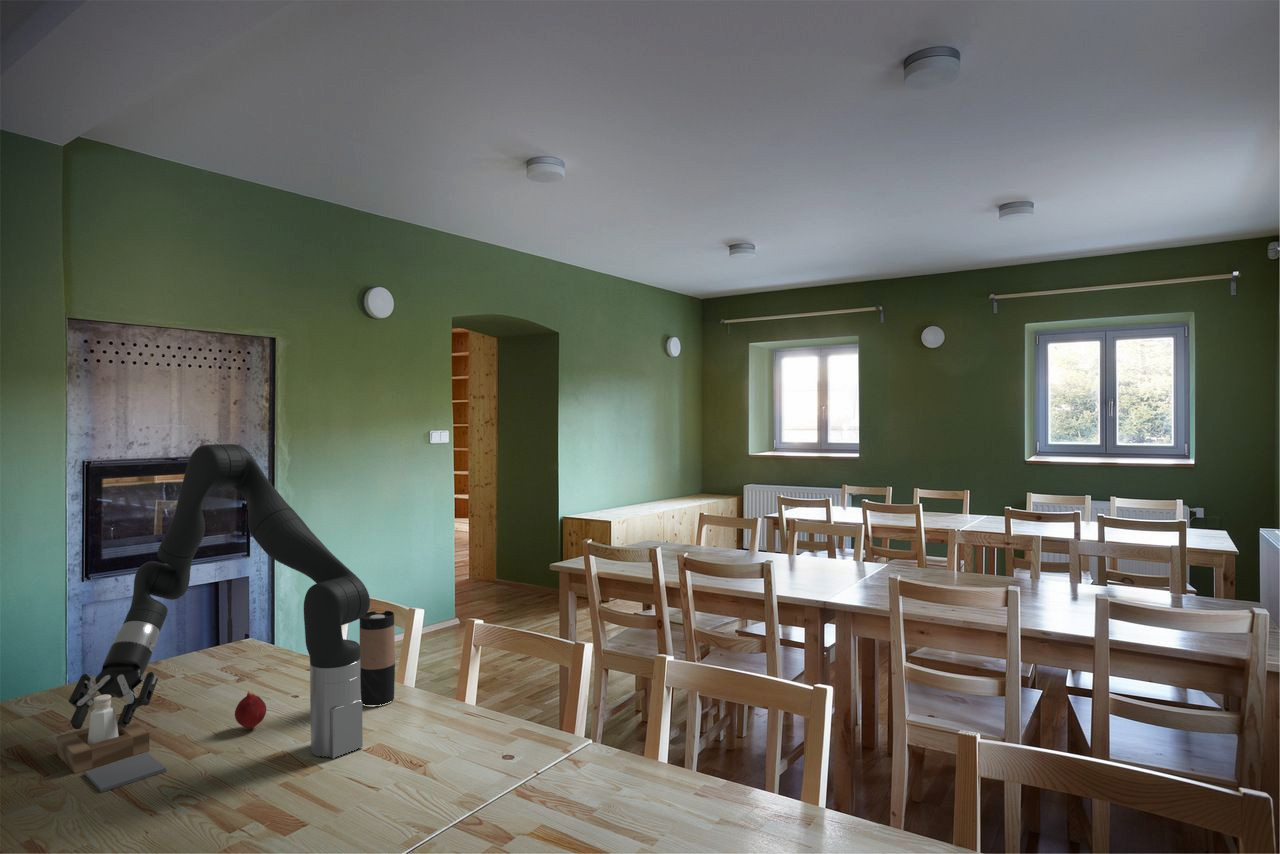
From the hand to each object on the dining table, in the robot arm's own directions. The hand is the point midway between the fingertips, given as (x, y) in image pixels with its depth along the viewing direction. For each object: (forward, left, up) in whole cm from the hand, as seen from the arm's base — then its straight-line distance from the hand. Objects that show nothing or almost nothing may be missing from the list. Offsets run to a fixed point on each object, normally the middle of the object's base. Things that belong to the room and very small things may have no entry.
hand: (98, 726), depth 144 cm
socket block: (+1, -1, -6) cm, 6 cm away
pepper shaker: (+1, -1, -6) cm, 6 cm away
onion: (-10, -24, -6) cm, 27 cm away
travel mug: (-17, -49, -6) cm, 52 cm away
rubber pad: (-12, -1, -6) cm, 13 cm away
